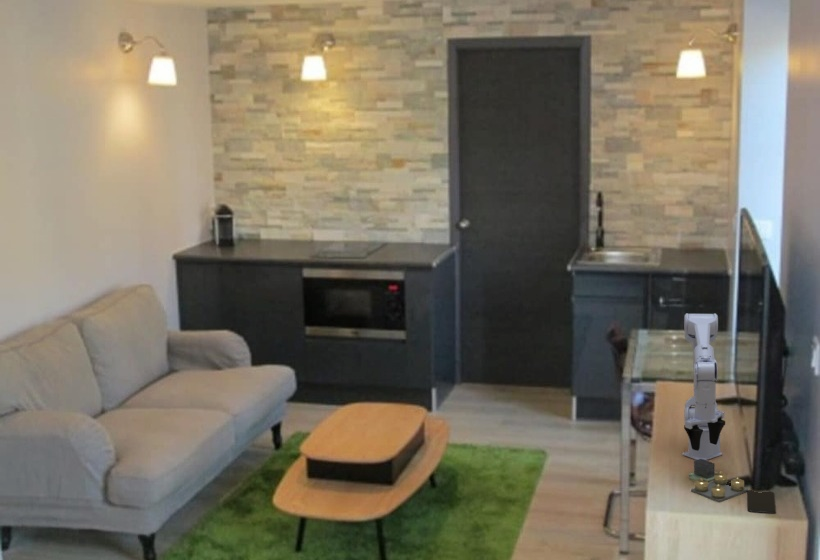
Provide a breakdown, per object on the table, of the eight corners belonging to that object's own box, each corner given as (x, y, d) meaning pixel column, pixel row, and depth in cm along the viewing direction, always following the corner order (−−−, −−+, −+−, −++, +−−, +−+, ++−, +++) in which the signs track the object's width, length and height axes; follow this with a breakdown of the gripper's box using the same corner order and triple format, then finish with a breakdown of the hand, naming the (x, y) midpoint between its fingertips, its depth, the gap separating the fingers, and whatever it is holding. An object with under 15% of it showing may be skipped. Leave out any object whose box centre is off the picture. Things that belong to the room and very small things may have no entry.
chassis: (719, 480, 317) (720, 467, 316) (747, 491, 309) (748, 478, 308) (691, 491, 310) (691, 478, 310) (718, 502, 302) (719, 488, 301)
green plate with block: (705, 470, 326) (705, 455, 325) (723, 477, 320) (724, 461, 319) (684, 477, 321) (684, 462, 320) (702, 485, 315) (703, 469, 314)
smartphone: (746, 492, 310) (747, 513, 295) (746, 489, 309) (747, 510, 295) (774, 494, 307) (776, 515, 293) (774, 491, 307) (776, 512, 293)
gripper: (698, 410, 309) (697, 456, 311) (733, 400, 316) (732, 444, 319) (679, 404, 314) (679, 449, 317) (714, 394, 322) (713, 438, 325)
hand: (704, 446), depth 319 cm, fingers open, 7 cm apart
